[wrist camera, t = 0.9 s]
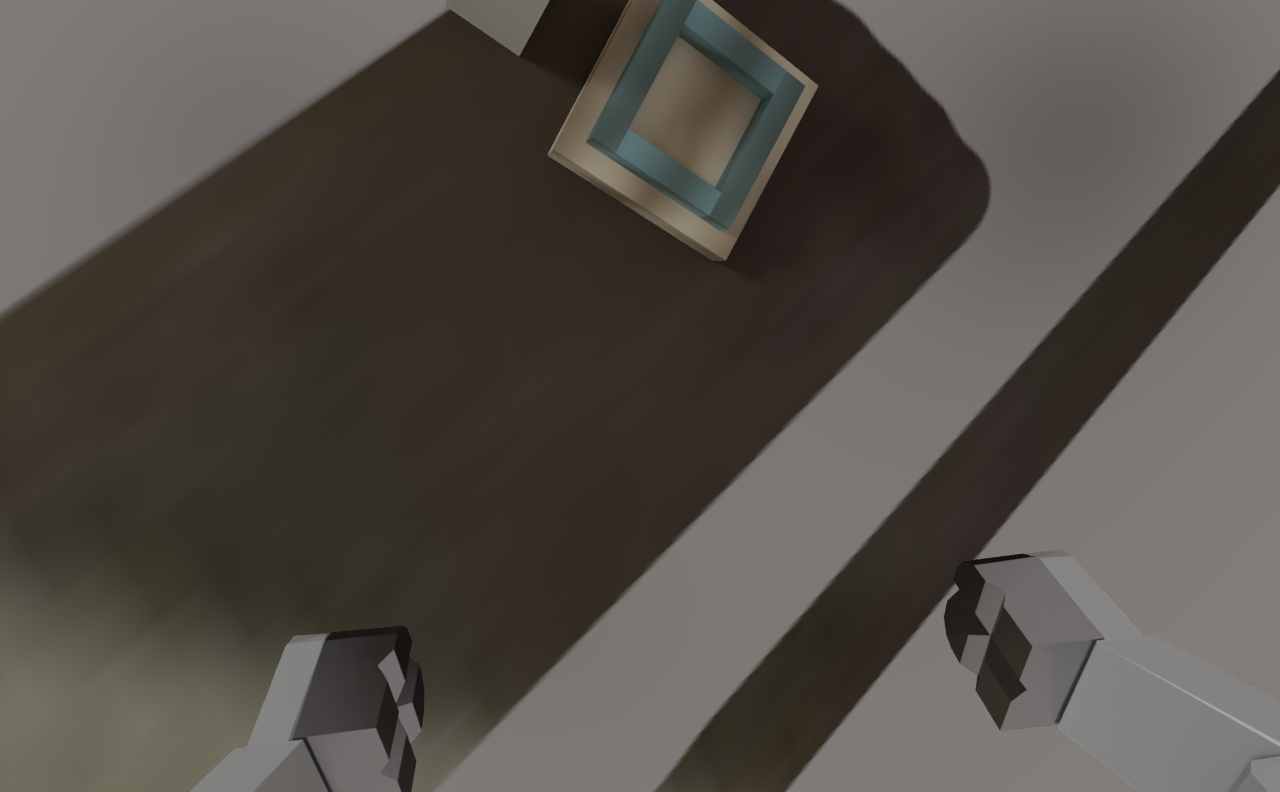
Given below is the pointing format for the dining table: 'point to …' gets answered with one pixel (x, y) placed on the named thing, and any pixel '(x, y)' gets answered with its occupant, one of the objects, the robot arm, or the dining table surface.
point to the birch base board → (684, 119)
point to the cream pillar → (502, 18)
